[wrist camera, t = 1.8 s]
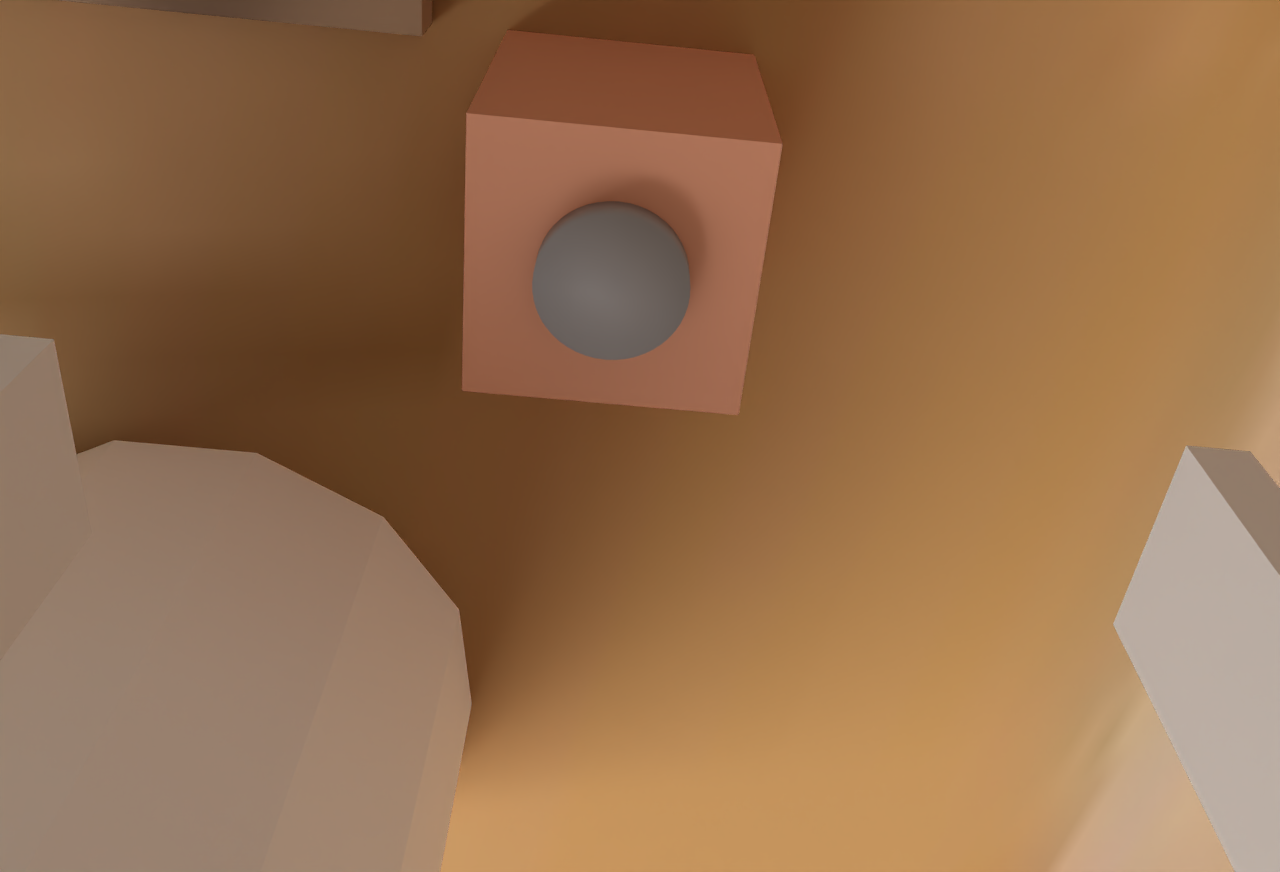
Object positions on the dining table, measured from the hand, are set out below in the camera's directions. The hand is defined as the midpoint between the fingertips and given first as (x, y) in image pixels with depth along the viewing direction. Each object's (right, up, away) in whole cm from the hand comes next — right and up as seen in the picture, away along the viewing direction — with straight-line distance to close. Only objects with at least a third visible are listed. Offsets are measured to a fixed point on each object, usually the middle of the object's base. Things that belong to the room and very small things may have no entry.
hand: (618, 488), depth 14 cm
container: (-12, -5, +19) cm, 23 cm away
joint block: (0, +6, +11) cm, 13 cm away
